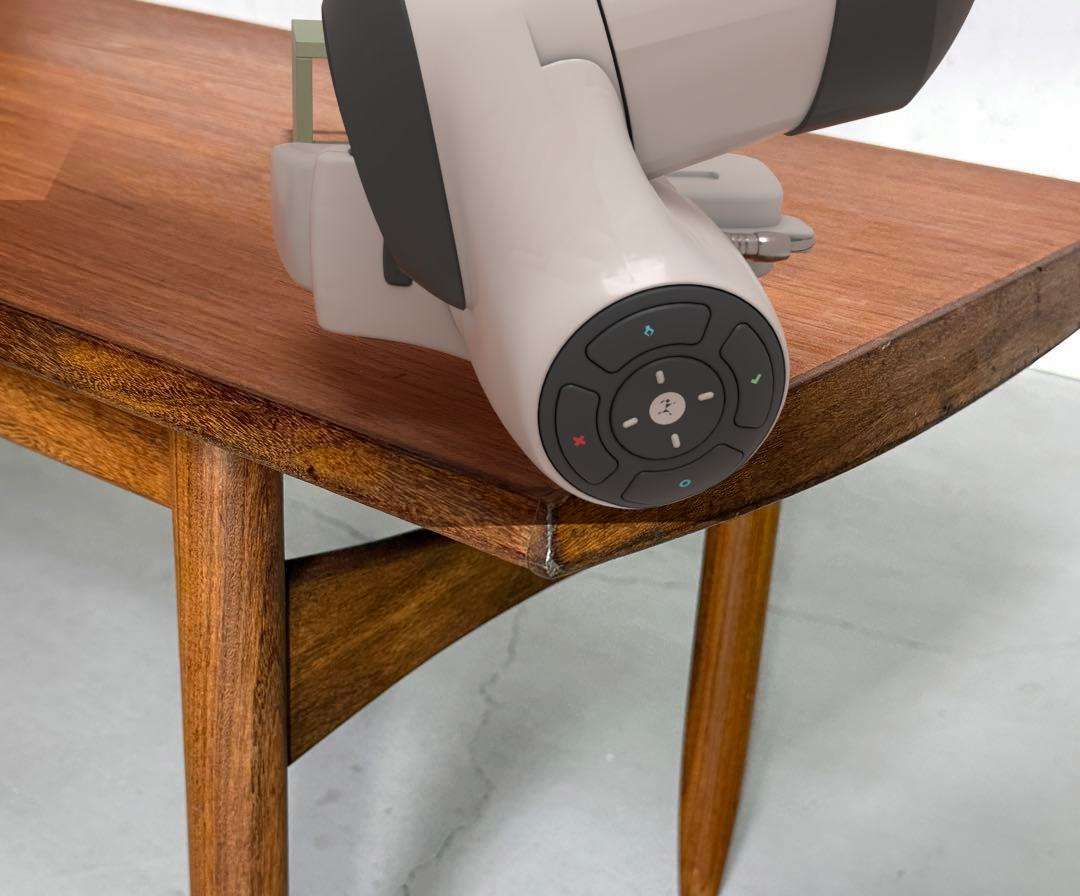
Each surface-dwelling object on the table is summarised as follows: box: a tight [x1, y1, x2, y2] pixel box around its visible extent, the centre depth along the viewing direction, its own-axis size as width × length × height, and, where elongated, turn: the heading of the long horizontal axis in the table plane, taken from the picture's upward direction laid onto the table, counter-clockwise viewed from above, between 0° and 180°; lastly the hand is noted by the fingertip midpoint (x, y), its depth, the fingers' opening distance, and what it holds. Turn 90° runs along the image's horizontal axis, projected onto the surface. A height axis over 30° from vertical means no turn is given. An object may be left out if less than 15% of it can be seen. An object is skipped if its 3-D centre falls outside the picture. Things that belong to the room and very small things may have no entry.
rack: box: [290, 18, 349, 144], centre depth 99 cm, size 16×10×9 cm, turn 100°
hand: (499, 164), depth 66 cm, fingers open, 8 cm apart
